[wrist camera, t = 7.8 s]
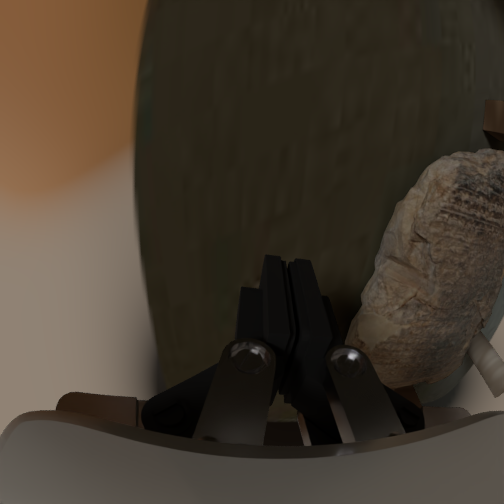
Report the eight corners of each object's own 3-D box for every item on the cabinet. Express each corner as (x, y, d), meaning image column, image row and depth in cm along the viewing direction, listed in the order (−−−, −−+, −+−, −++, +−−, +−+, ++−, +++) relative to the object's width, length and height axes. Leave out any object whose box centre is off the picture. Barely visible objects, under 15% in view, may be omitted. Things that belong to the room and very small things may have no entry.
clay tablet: (399, 106, 13) (319, 366, 21) (450, 104, 8) (331, 413, 17) (516, 173, 14) (437, 360, 22) (556, 190, 9) (457, 393, 18)
